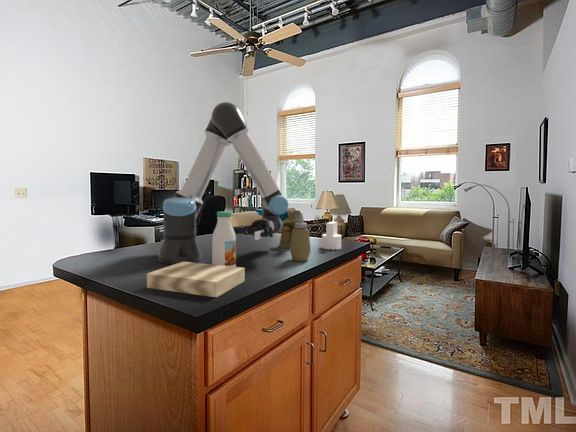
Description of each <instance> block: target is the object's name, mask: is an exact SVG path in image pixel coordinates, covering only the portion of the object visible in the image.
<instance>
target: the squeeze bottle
mask: <svg viewBox="0 0 576 432" xmlns="http://www.w3.org/2000/svg"><path fill="white" fill-rule="evenodd" d="M304 220H305V219H304V216H303V213H302V214H299V218H298V222H297V223H295V229H293V230H292V237H291V245H290V248H289V251H290V256H291V258H292V260H293V261H296V262H305V261H308V260H309V257H310V254H311V238H310V230H309V229H308V227H307V226H308V225H307V224H308V223H307V222H305V221H304Z"/></svg>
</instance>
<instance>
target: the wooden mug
mask: <svg viewBox="0 0 576 432" xmlns="http://www.w3.org/2000/svg"><path fill="white" fill-rule="evenodd" d="M299 214H303V213H302V212H301V211H300V210H296V211H292V213H291V214H290V215H289V222H282V228H281V234H280V239H279V240H280V241H279V245H278V248H283V249H290V245H291V237H292V230H293V229H295V223H297V222H298V218H299Z"/></svg>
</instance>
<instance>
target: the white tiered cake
mask: <svg viewBox="0 0 576 432" xmlns="http://www.w3.org/2000/svg"><path fill="white" fill-rule="evenodd" d="M338 225H339V223H338V221H329V222H326V224H325V226H326V227H325V229H326V230H325V231H326V233H323V234H322V235H321V248H322V249H323V250H324V249H325V250H330V249H331V250H333V251H334V250H335V249H336V250H341V249H342V234H338Z"/></svg>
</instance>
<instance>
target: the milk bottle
mask: <svg viewBox="0 0 576 432" xmlns="http://www.w3.org/2000/svg"><path fill="white" fill-rule="evenodd" d="M216 217H217V218H216V219H217V222H216V225H215V228H214V230H213V233H212V240H211V241H212V243H211V253H212V254H211V255H212V256H211V260H212V261H211V264H212V265H222V266H231V267H237V240H236V239H237V237H236V234H235V232H234V230H233V227H234V226H232V222H231V219H232V211H217V212H216Z"/></svg>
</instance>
